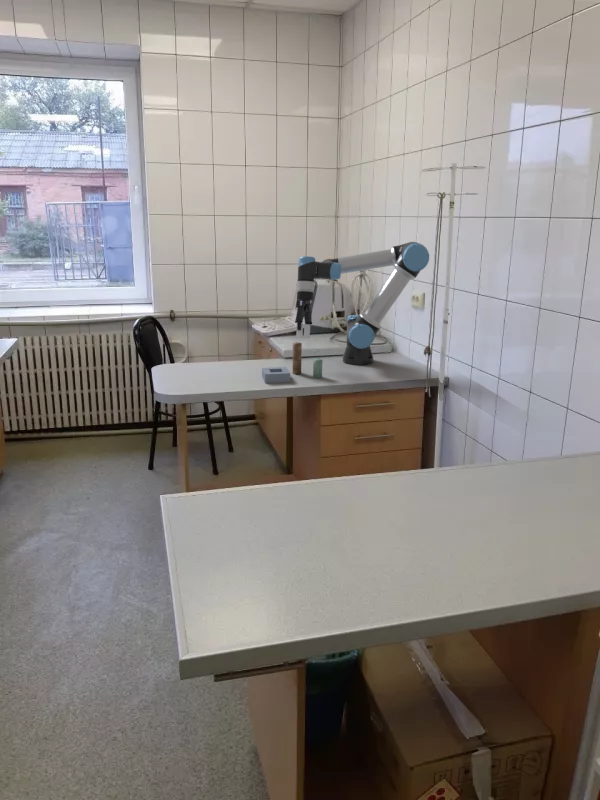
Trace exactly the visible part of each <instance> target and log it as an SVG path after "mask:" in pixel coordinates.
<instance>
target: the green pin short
mask: <svg viewBox="0 0 600 800" xmlns="http://www.w3.org/2000/svg"><path fill="white" fill-rule="evenodd" d="M312 365H313V367H312V369H313V370H312V371H313V372H312V376H313V377H312V379H322V378H323V359H322V358H314V359H313V364H312Z"/></svg>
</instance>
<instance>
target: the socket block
mask: <svg viewBox="0 0 600 800" xmlns="http://www.w3.org/2000/svg"><path fill="white" fill-rule="evenodd" d="M261 377H262V379H263V381H264V383H265V384H274V383H277V384H279V383H291V372H290V371H289V369H288V367H287V366H280V367H279V366H278V367H277V366H276V367H272V366H271V367H261Z"/></svg>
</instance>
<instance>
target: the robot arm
mask: <svg viewBox="0 0 600 800" xmlns="http://www.w3.org/2000/svg"><path fill="white" fill-rule="evenodd" d="M429 261H430V253H429V250H428V249H427V247H426V246H424V244H422V243H419V242H416V241H409V242H406V243H403V244H399V245H395V246H391V248H390V249H384V250H378V251H371V252H367V253H365V252H364V253H360V254H355V255H350V256H343V257H342V256H341V257H337V258H326V259H324V260H322V261H316V257H314V256H307V255H304V256H300V257H299V259H298V266H297V283H296V286H297V287H296V288H297V292H296V299H297V300H298V305H297V311H296V316H295V320H294V323H295V324H296V333H295V334H296V335H295V338H296V339H302V338H303V339H310V338H311V337H310V336H311V325H313V322H312V308H311V307H312V304H311V302H310V301H313V300H314V290H315V279H317V280H318V279H321V280H322V279H323V280H332V281H333V280H340V279H341V276H342V275H343V274H348V273H353V272H360V271H367V270H368V271H369V270H371V269H372V270H374V269H378V268H379V269H380V268H384V267H391V266H393V267H394V269H393V271H392V272H391V273H390V275H389V276H388V278H387V279H386V281H385V283H384V284H383V286H382V287H381V288H380V289H379V291H378V293H377V294H376V296H375V297H374V298H373V300H372V301H371V302H370V304H369V306H368V307H367V309H366V310H365V312H363V313H362V312H361V313H359V314H351V315H348V316H347V318H346V319H347V320H346V323H347V325H346V347H345V349H344V352H343V355H342V362H343V363H345V364H348V365H354V366H356V365H357V366H361V365H363V366H365V365H370V364H373V362H374V355H373V351H372V348H371V345H372V344H373V342H374V340H375V337H376V335H377V334H378V333H379V331H380V329H381V323H382V320H384V318H385V316H386V315H387V314H388V312H389V311H390V309H391V308H392V306H393V305H394V304H395V302H396V301H397V299H398V298H399V296H400V295H401V293H402V292H403V291H404V290H405V288H406V286H407V285H408V284H409V283H410V281H411V280H413V279H416V278H417V277H418V275H419V274H420V272H421V271H422V270H424V269H425V268H427V266H428V264H429Z"/></svg>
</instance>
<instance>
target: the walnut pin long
mask: <svg viewBox="0 0 600 800" xmlns="http://www.w3.org/2000/svg"><path fill="white" fill-rule="evenodd" d="M302 352H303V351H302V342H299V341H298V342H292V374H293V375H301V374H302Z"/></svg>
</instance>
